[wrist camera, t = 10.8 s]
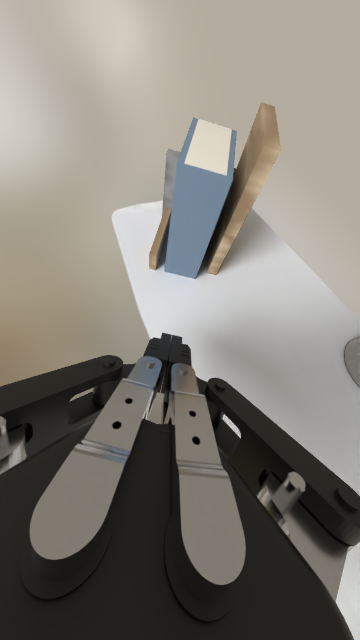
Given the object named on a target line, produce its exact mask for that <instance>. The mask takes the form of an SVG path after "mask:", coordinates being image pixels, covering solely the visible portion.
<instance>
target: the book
mask: <svg viewBox="0 0 360 640" xmlns="http://www.w3.org/2000/svg"><path fill="white" fill-rule="evenodd" d="M236 133H237V131H235V130H232V129H229V128H226V127H222V126H219V125H216V124H213V123H209V122H206V121H202V120H200V119H196V118H193V120H192V123H191V126H190V128H189V131H188V134H187V137H186V140H185V142H184V146H183V148H182V151H181V153H180V156H179V159H178V162H177V167H176V176H175V185H174V193H173V202H172V210H171V219H170V227H169V236H168V244H167V253H166V262H165V270H164V271H165V272H169V273H173V274H177V275H181V276H185V277H190V278H194V279H196V276H197V273H198V271H199V268H200V265H201V263H202V260H203V257H204V255H205V252H206V249H207V247H208V244H209V241H210V239H211V236H212V234H213V231H214V228H215V226H216V223H217V220H218V218H219V215H220V212H221V210H222V207H223V204H224V202H225V199H226V196H227V194H228V191H229V188H230V186H231V183H232V180H233V172H234V159H235V146H236Z"/></svg>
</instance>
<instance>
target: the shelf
mask: <svg viewBox="0 0 360 640" xmlns="http://www.w3.org/2000/svg"><path fill="white" fill-rule="evenodd" d="M280 152H281V146H280V139H279V133H278V127H277V120H276V113H275V107H274V106H271V105H267V104H264V103H261V105H260V107H259V110H258V113H257V115H256V118H255V121H254V123H253V126H252V129H251V131H250V134H249V137H248V139H247V142H246V145H245V148H244V150H243V153H242V156H241V158H240V161H239V164H238V166H237V169H235V168H234V172H233V180H232V183H231V186H230V188H229V191H228V194H227V196H226V199H225V202H224V204H223V207H222V210H221V212H220V215H219V218H218V220H217V223H216V226H215V228H214V231H213V234H212V242H211V248H210V255H209V262H208V269H207V273H210V274H214V275H216V274H217V272H218V270H219V268H220V266H221V264H222V262H223V260H224V259H225V257H226V255H227V253H228V251H229V249H230V247H231V245H232V243H233V241H234V239H235V238H236V236H237V234H238V232H239V230H240V228H241V226H242V224H243V222H244V220H245V219H246V217H247V215H248V213H249V211H250V209H251V207H252V205H253V203H254V201H255V200H256V197H257V196H258V194H259V192H260V190H261V188H262V186H263V184H264V182H265V180H266V179H267V177H268V174H269V173H270V171H271V169H272V167H273V165H274V163H275V161H276V159H277V158H278V156H279V154H280ZM180 153H181V152H178V151H174V150H171V149H168V151H167V155H166V170H165V184H164V197H163V198H164V199H163V212H162V219H161V222H160V225H159V228H158V231H157V234H156V237H155V239H154V242H153V245H152V248H151V251H150V254H149V268H150V269H154V270H156V268H157V264H158V261H159V258H160V255H161V252H162V248H163V245H164V242H165V239H166V235H167V232H168V229H169V226H170V219H171V210H172V202H173V193H174V185H175V176H176V167H177V162H178V159H179V156H180Z"/></svg>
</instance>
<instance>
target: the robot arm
mask: <svg viewBox="0 0 360 640" xmlns="http://www.w3.org/2000/svg"><path fill="white" fill-rule="evenodd" d="M171 337H172V339H171ZM345 362H346V365H347V368H348V370H349V372H350V374H351V376H352V377H353V379H354V380H355V382H356V383H357V384H358V385H359V386H360V337H359V338H356V339H353V340H351V341H350V342H349V343H348V344H347V346H346V348H345ZM163 377H164V378H163ZM162 381H163V383H162ZM161 385H162V389H161ZM91 388H93V392H90V393H88V394H86V395H84V396H81V397H79V398H77V399H75V400H72V401H70V399H71V398H72V397H73V396H75V395H77V394H79V393H81V392H83V391H86V390H88V389H91ZM160 389H161V393H164V399H163V402H162V413H161V424H155V423H153V422H151V421H148V418H149V415H150V411H151V408H152V405H153V401H154V399H155V397H156V394H157V392H160ZM69 401H70V402H69ZM224 414H225V415H226V416H227V417H228V418H229V419H230V420H231V421H232V422H233V423H234V424H235V425H236V426H237V427H238V429H239V430H240V433H241V439H240V438H239V436H238V435H237V434H236V433H235V432H234V431H233V430H232V429H231V428H230V427H229V426H228V425H227V424H226V423H225V422H224V420H223V419H222V417H223V415H224ZM359 542H360V496H359V495H358V494H357V493H356V492H355V491H354V490H353V489H352V488H351V487H350V486H348V485H347V484H346V483H345V482H344V481H343V480H341V479H340V478H339V477H338V476H337V475H335V474H334V473H333V472H332V471H331V470H330V469H328V468H327V467H326V466H325V465H324V464H323V463H321V462H320V461H319V460H318V459H317V458H315V457H314V456H313V455H312V454H311V453H310V452H308V451H307V450H306V449H305V448H304V447H302V446H301V445H300V444H299V443H298V442H297V441H295V440H294V439H293V438H292V437H291V436H290V435H288V434H287V433H286V432H285V431H284V430H282V429H281V428H280V427H279V426H278V425H277V424H275V423H274V422H273V421H272V420H271V419H270V418H268V417H267V416H266V415H265V414H264V413H262V412H261V411H260V410H259V409H258V408H257V407H255V406H254V405H253V404H252V403H251V402H250V401H248V400H247V399H246V398H245V397H244V396H242V395H241V394H240V393H239V392H238V391H237V390H235V389H234V388H233V387H232V386H231V385H229V384H228V383H227V382H226V381H224V380H222V379H219V378H211V379H209V381H208V382H205V381H203V380H201V379H199V378H198V377H196V375H195V371H194V369H193V368H192V366H191V349H190V348H189V346H188V345H186V344H182V337H179V336H175V335H170V334H166V333H162V336H161V339H159V338H152V339H151V340H150V341H149V344H148V346H147V348H146V351H145V353H144V356H143V357H141V358H140V359H139V360H138V361H137V363H135V364H127V365H126V364H123V361H122V360H121V359H120V358H119V357H117V356H112V355H106V356H101V357H98V358H95V359H91V360H88V361H85V362H81V363H78V364H75V365H71V366H68V367H64V368H61V369H58V370H55V371H51V372H48V373H45V374H41V375H38V376H34V377H31V378H28V379H25V380H21V381H18V382H14V383H11V384H8V385H4V386H1V387H0V640H354V639H353V636H352V634H351V632H350V629H349V627H348V625H347V623H346V621H345V619H344V617H343V615H342V613H341V611H340V610H339V608H338V606H337V604H336V602H335V601H336V597H337V593H338V589H339V584H340V580H341V576H342V572H343V567H344V563H345V559H346V555H347V552H349V551H350V550H351V549H352V548H353V547H354V546H355V545H356V544H358V543H359Z"/></svg>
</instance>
